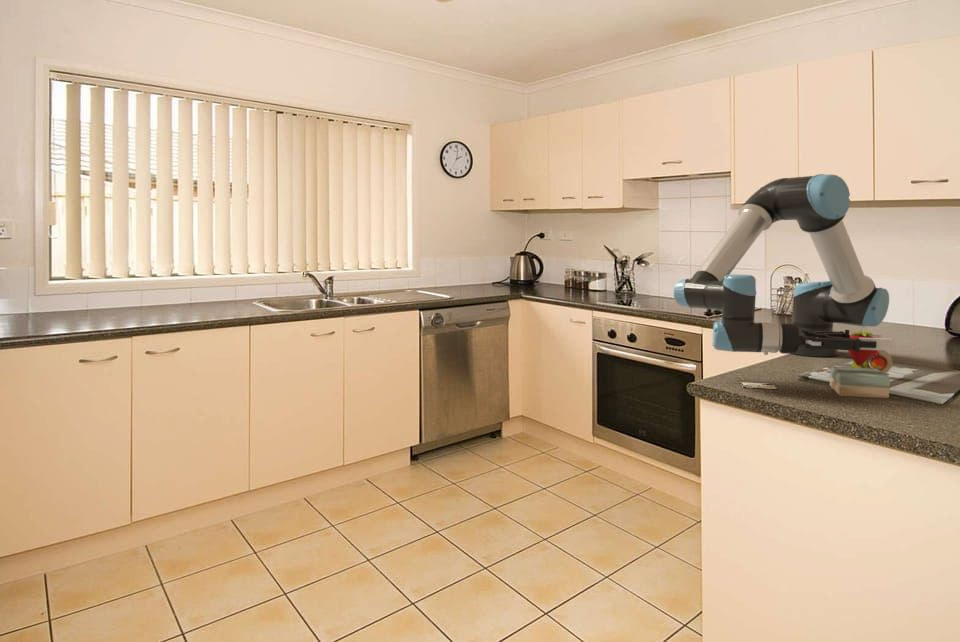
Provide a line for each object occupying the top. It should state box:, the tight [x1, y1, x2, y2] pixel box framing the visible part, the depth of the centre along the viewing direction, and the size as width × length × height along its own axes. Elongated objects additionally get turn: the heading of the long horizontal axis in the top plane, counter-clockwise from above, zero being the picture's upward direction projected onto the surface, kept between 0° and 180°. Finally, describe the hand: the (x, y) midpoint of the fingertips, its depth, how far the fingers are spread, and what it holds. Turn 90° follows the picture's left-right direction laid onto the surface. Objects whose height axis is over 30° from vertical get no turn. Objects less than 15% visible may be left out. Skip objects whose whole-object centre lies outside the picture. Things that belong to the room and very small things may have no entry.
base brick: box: [829, 366, 891, 399], centre depth 148 cm, size 10×10×5 cm
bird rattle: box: [851, 350, 893, 374], centre depth 164 cm, size 6×11×9 cm
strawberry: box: [847, 326, 875, 366], centre depth 146 cm, size 6×8×10 cm
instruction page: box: [740, 381, 767, 387], centre depth 154 cm, size 6×8×1 cm
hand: (885, 342), depth 145 cm, fingers closed on strawberry, 7 cm apart
